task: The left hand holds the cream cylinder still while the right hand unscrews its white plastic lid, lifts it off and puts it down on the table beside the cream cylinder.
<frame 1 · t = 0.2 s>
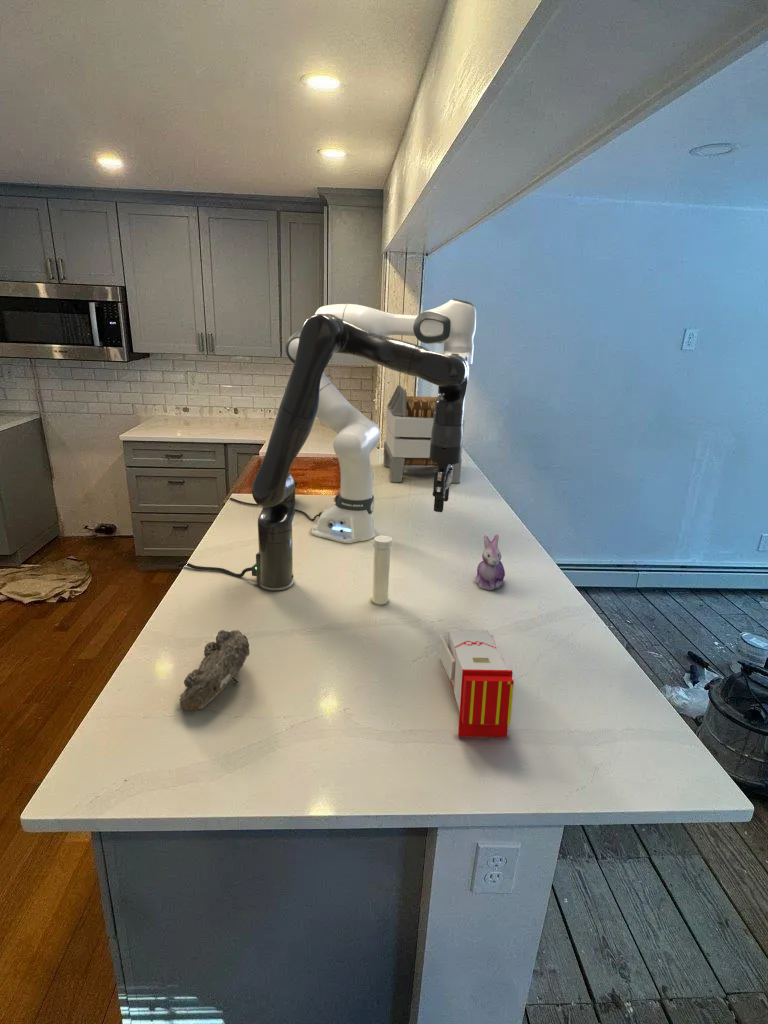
left hand: (441, 506, 141), 29 cm above the counter, tool pointing down, fingers open, 8 cm apart
right hand: (454, 403, 174), 48 cm above the counter, tool pointing down, fingers open, 8 cm apart
lid: (382, 540, 148), point 18 cm above the counter, screwed on, not yet turned
figurine: (489, 583, 166), on the counter
toy: (469, 691, 119), on the counter
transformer: (419, 473, 275), on the counter
figurine character: (286, 504, 224), on the counter
fossil: (220, 681, 118), on the counter
cream cylinder: (380, 600, 154), on the counter
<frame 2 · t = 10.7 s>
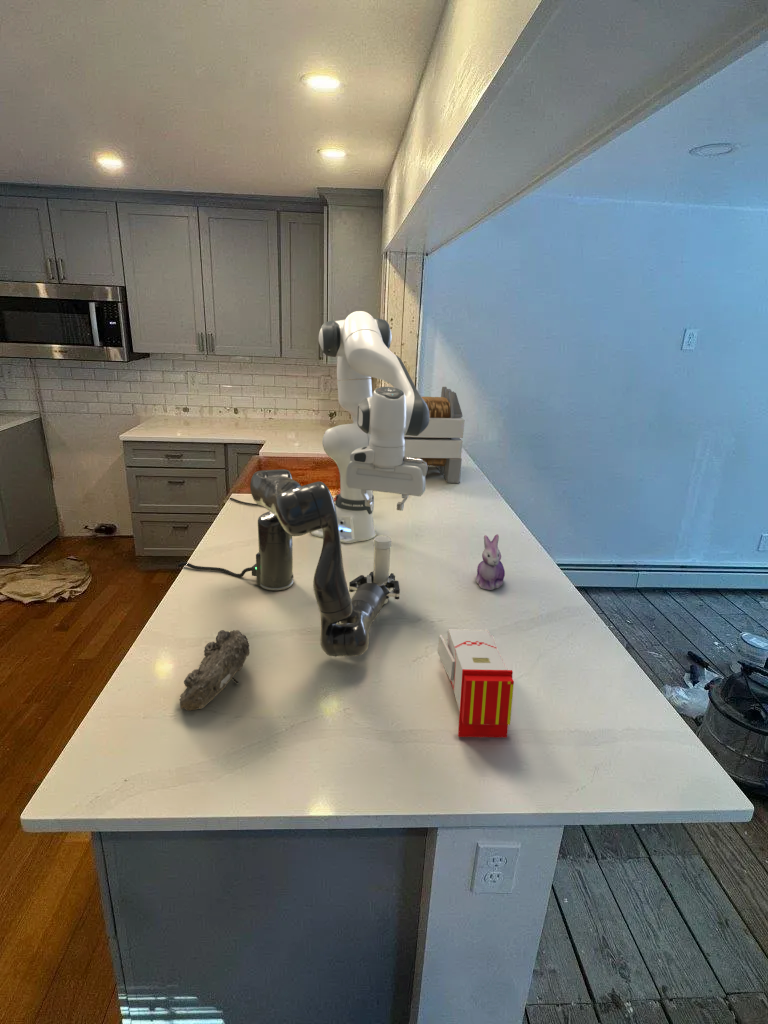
left hand: (383, 575, 154), 7 cm above the counter, tool horizontal, fingers closed on cream cylinder, 4 cm apart
right hand: (384, 507, 145), 27 cm above the counter, tool pointing down, fingers open, 7 cm apart
cream cylinder: (380, 600, 154), on the counter, touching left hand
everything else where it was.
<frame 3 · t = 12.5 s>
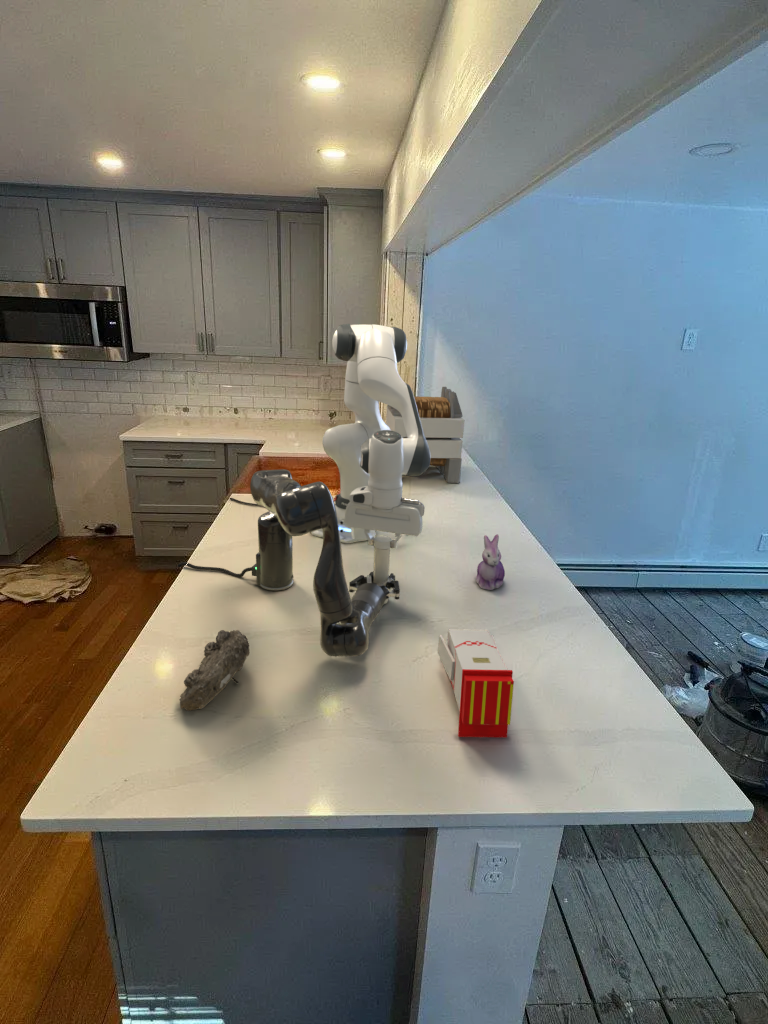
left hand: (383, 575, 154), 6 cm above the counter, tool horizontal, fingers closed on cream cylinder, 4 cm apart
right hand: (382, 546, 148), 16 cm above the counter, tool pointing down, fingers closed on lid, 4 cm apart
lid: (382, 540, 148), point 18 cm above the counter, screwed on, not yet turned, touching right hand
cream cylinder: (379, 600, 154), on the counter, touching left hand
everything else where it was.
when the right hand's fingers open (16 cm above the counter, at t = 13.7 s): lid stays where it is, point 18 cm above the counter.
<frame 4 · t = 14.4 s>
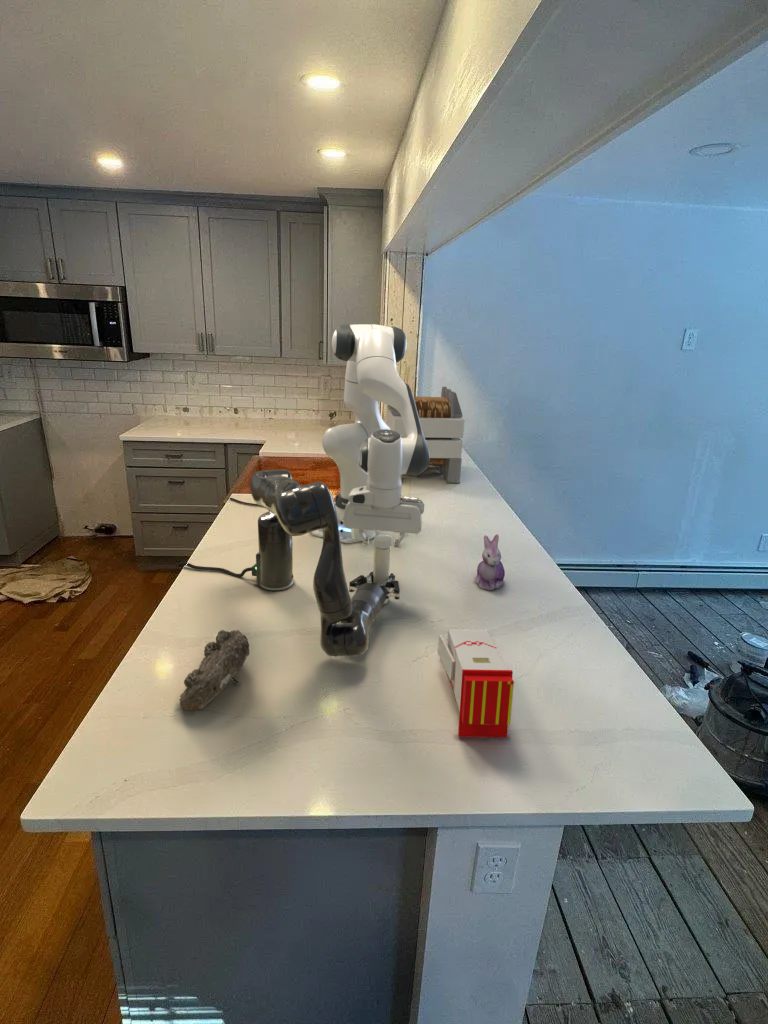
left hand: (383, 575, 154), 6 cm above the counter, tool horizontal, fingers closed on cream cylinder, 4 cm apart
right hand: (381, 545, 148), 16 cm above the counter, tool pointing down, fingers open, 7 cm apart
lid: (382, 539, 148), point 18 cm above the counter, turned 65° so far, risen 0.2 cm, still on its thread
cream cylinder: (379, 600, 154), on the counter, touching left hand
everything else where it was.
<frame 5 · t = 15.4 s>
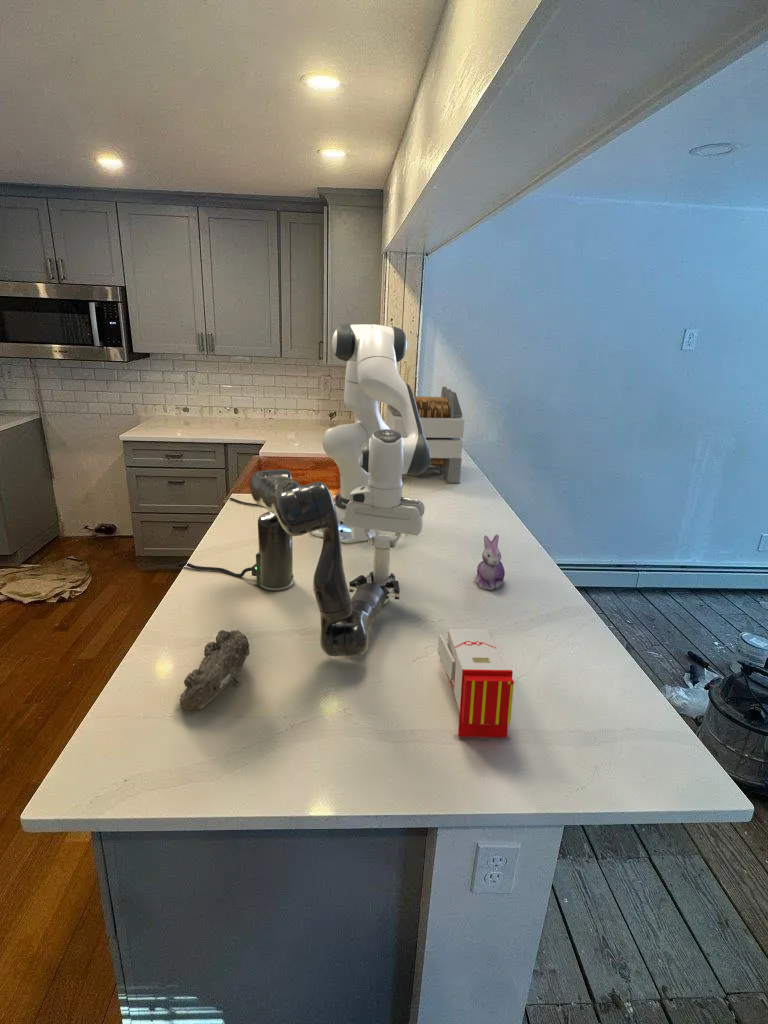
left hand: (383, 575, 154), 6 cm above the counter, tool horizontal, fingers closed on cream cylinder, 4 cm apart
right hand: (382, 545, 148), 16 cm above the counter, tool pointing down, fingers closed on lid, 4 cm apart
lid: (382, 539, 148), point 18 cm above the counter, turned 65° so far, risen 0.2 cm, still on its thread, touching right hand
cream cylinder: (379, 600, 154), on the counter, touching left hand
everything else where it was.
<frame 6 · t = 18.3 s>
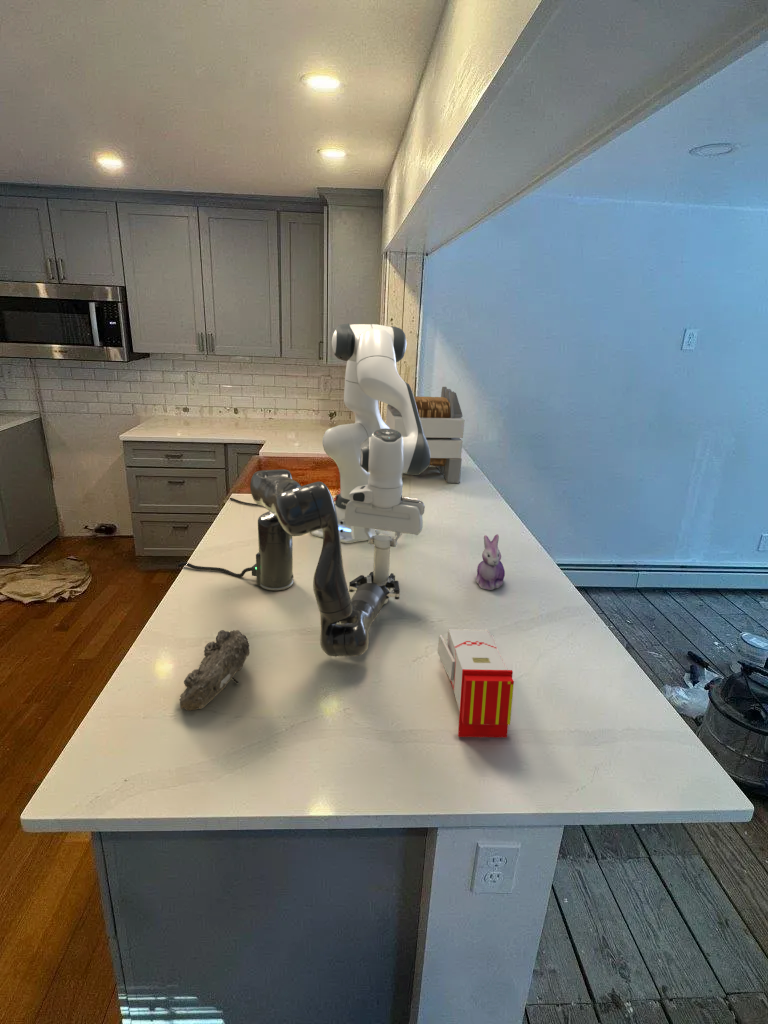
left hand: (383, 575, 154), 6 cm above the counter, tool horizontal, fingers closed on cream cylinder, 4 cm apart
right hand: (382, 544, 148), 17 cm above the counter, tool pointing down, fingers closed on lid, 4 cm apart
lid: (382, 538, 148), point 18 cm above the counter, turned 131° so far, risen 0.4 cm, still on its thread, touching right hand
cream cylinder: (379, 600, 154), on the counter, touching left hand
everything else where it was.
when the right hand's fingers open (2 cm above the counter, at t = 25.2 s): lid drops 2 cm, point 2 cm above the counter.
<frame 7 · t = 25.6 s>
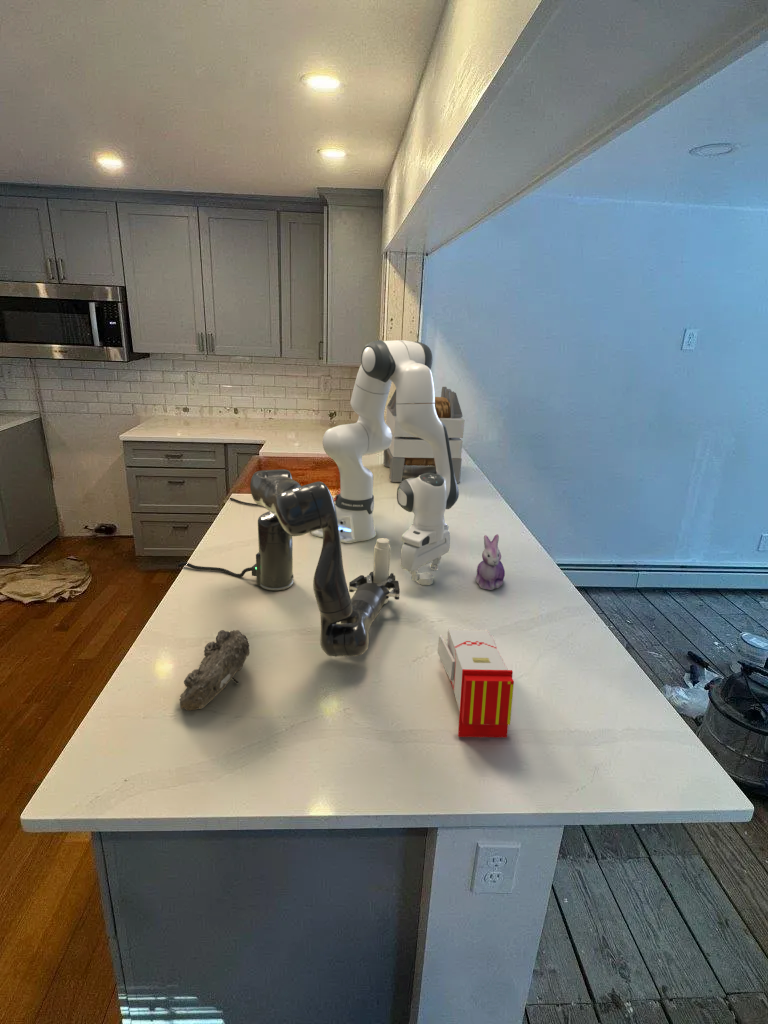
left hand: (383, 575, 154), 6 cm above the counter, tool horizontal, fingers closed on cream cylinder, 4 cm apart
right hand: (424, 574, 165), 2 cm above the counter, tool pointing down, fingers open, 8 cm apart
lid: (425, 576, 165), point 2 cm above the counter, off its thread
cream cylinder: (379, 600, 154), on the counter, touching left hand
everything else where it was.
when the left hand's fingers open (6 cm above the counter, at t = 26.2 s): cream cylinder stays where it is, on the counter.
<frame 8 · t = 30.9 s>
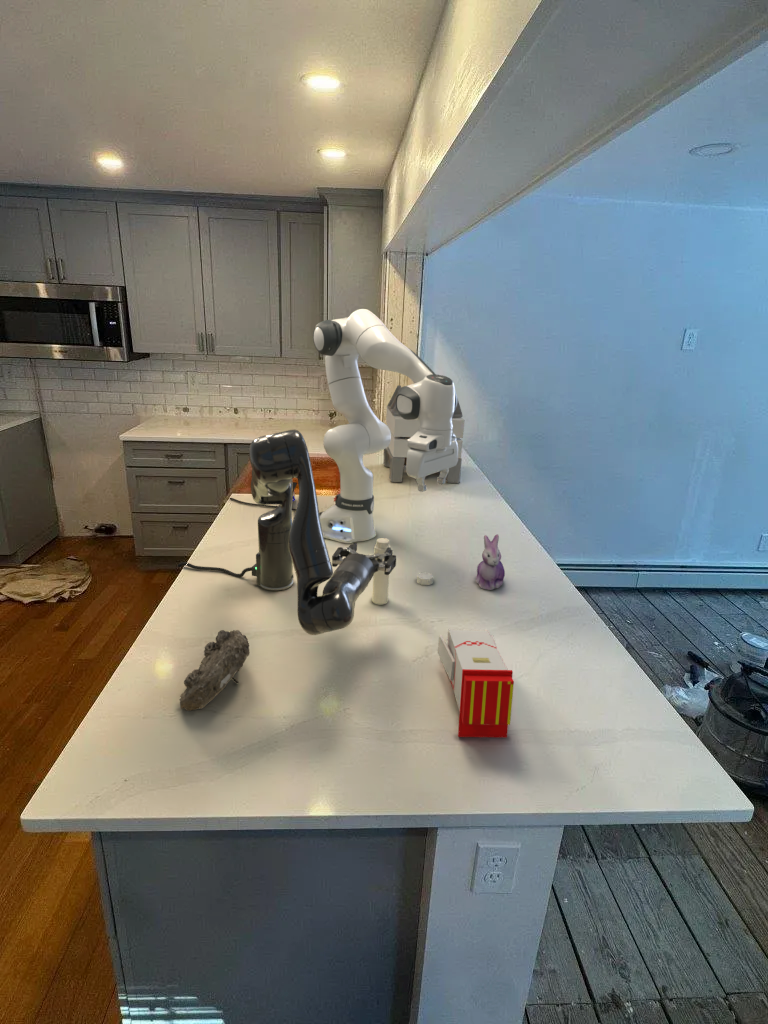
left hand: (372, 548, 138), 20 cm above the counter, tool horizontal, fingers open, 8 cm apart
right hand: (431, 487, 156), 29 cm above the counter, tool pointing down, fingers open, 8 cm apart
cream cylinder: (379, 600, 154), on the counter
everything else where it was.
at the end: lid came off its thread; lid point 1.6 cm above the counter; the left hand is holding nothing; the right hand is holding nothing; cream cylinder tilted 0°; cream cylinder moved 0.0 cm from its start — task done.
